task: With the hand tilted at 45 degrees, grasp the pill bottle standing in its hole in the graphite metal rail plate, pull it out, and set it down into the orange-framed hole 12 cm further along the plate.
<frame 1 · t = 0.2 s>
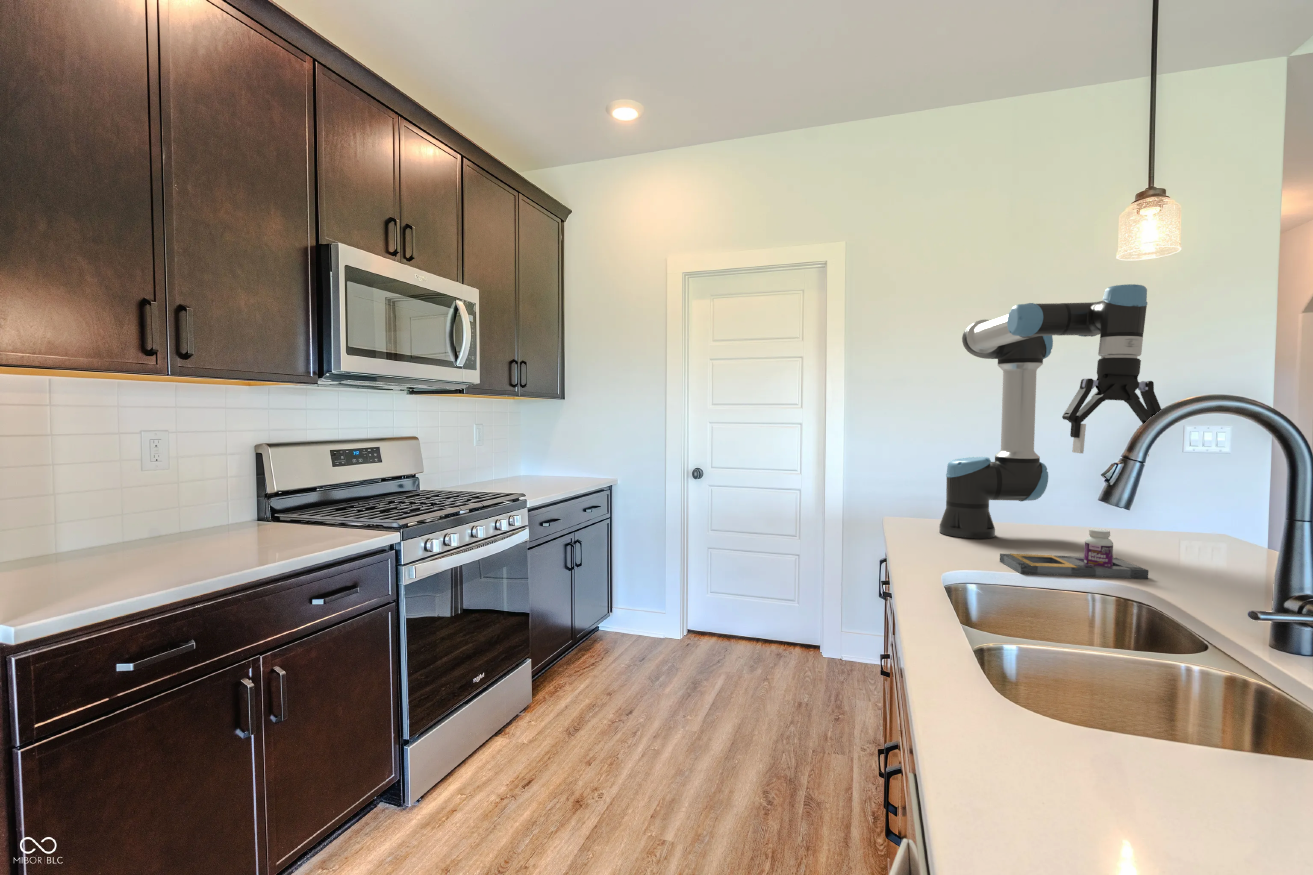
hand: (1109, 454, 134), 27 cm above the worktop, tool pointing down, fingers open, 13 cm apart
pill bottle: (1097, 571, 141), resting in rail plate
rail plate: (1069, 569, 142), on the worktop
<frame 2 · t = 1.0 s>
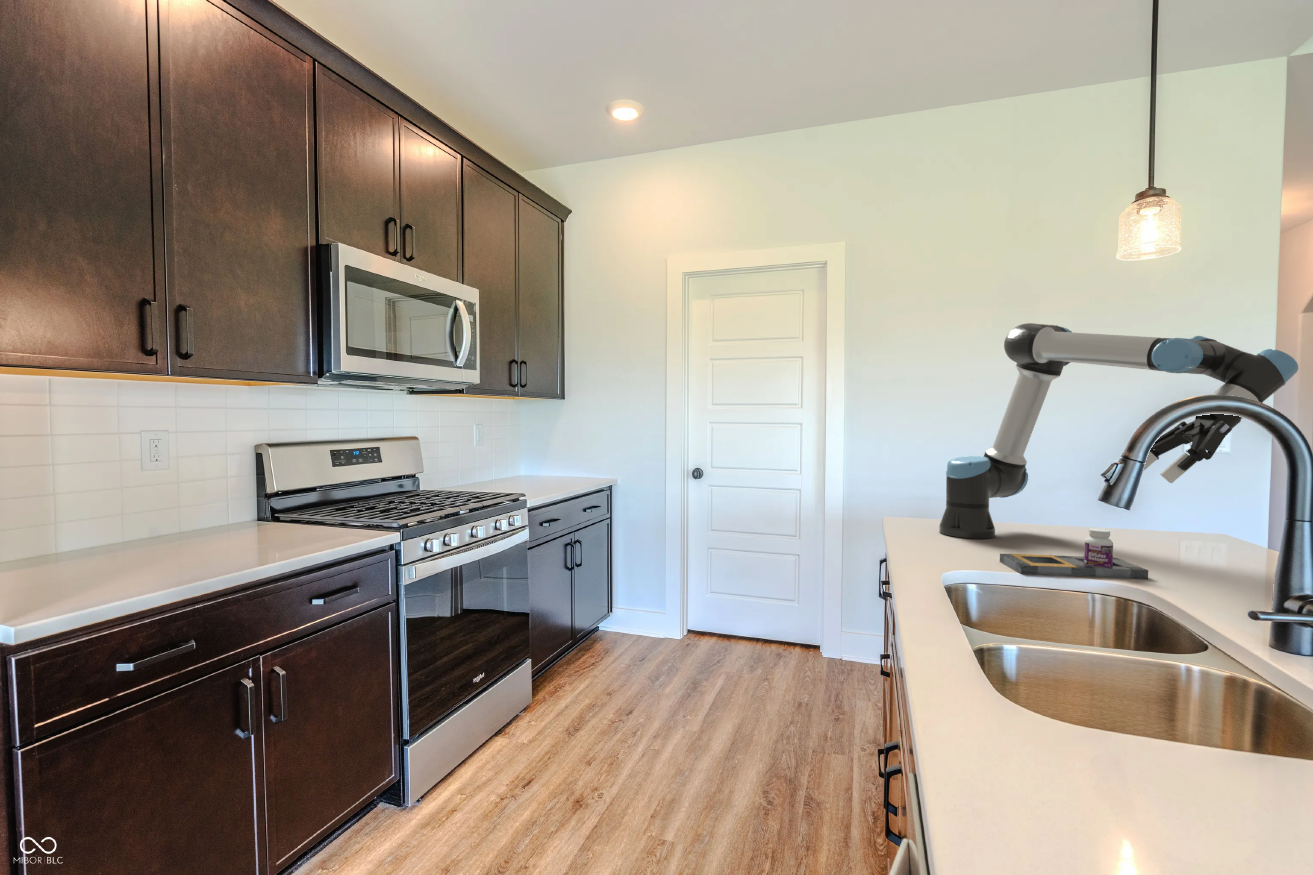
hand: (1147, 476, 138), 22 cm above the worktop, tool tilted 45°, fingers open, 13 cm apart
nothing on the worktop moved.
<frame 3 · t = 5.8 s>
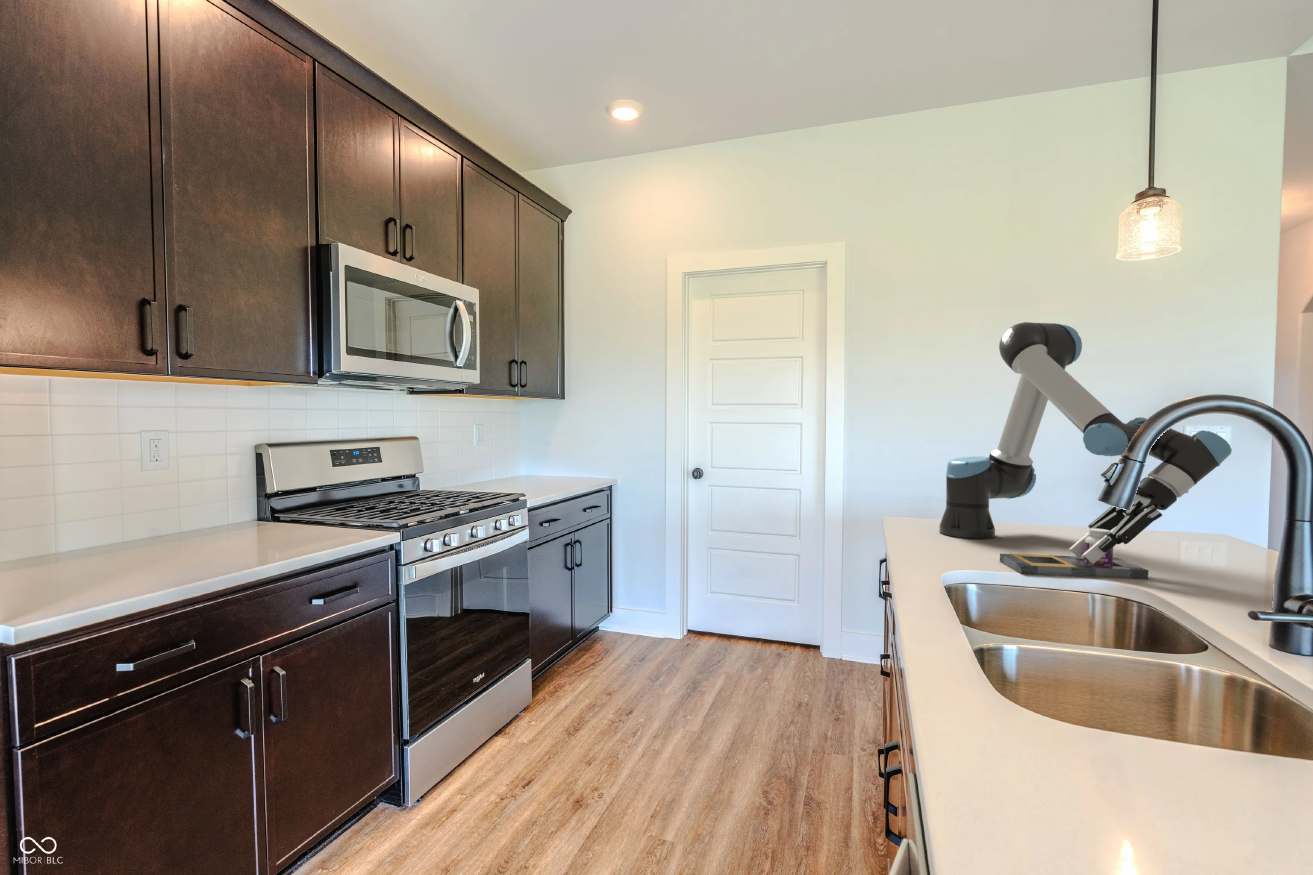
hand: (1081, 555, 142), 3 cm above the worktop, tool tilted 45°, fingers closed on pill bottle, 5 cm apart
pill bottle: (1097, 571, 141), resting in rail plate, touching gripper
when the fingers open (4 cm above the worktop, at t = 11.0 s): pill bottle stays where it is, resting in rail plate.
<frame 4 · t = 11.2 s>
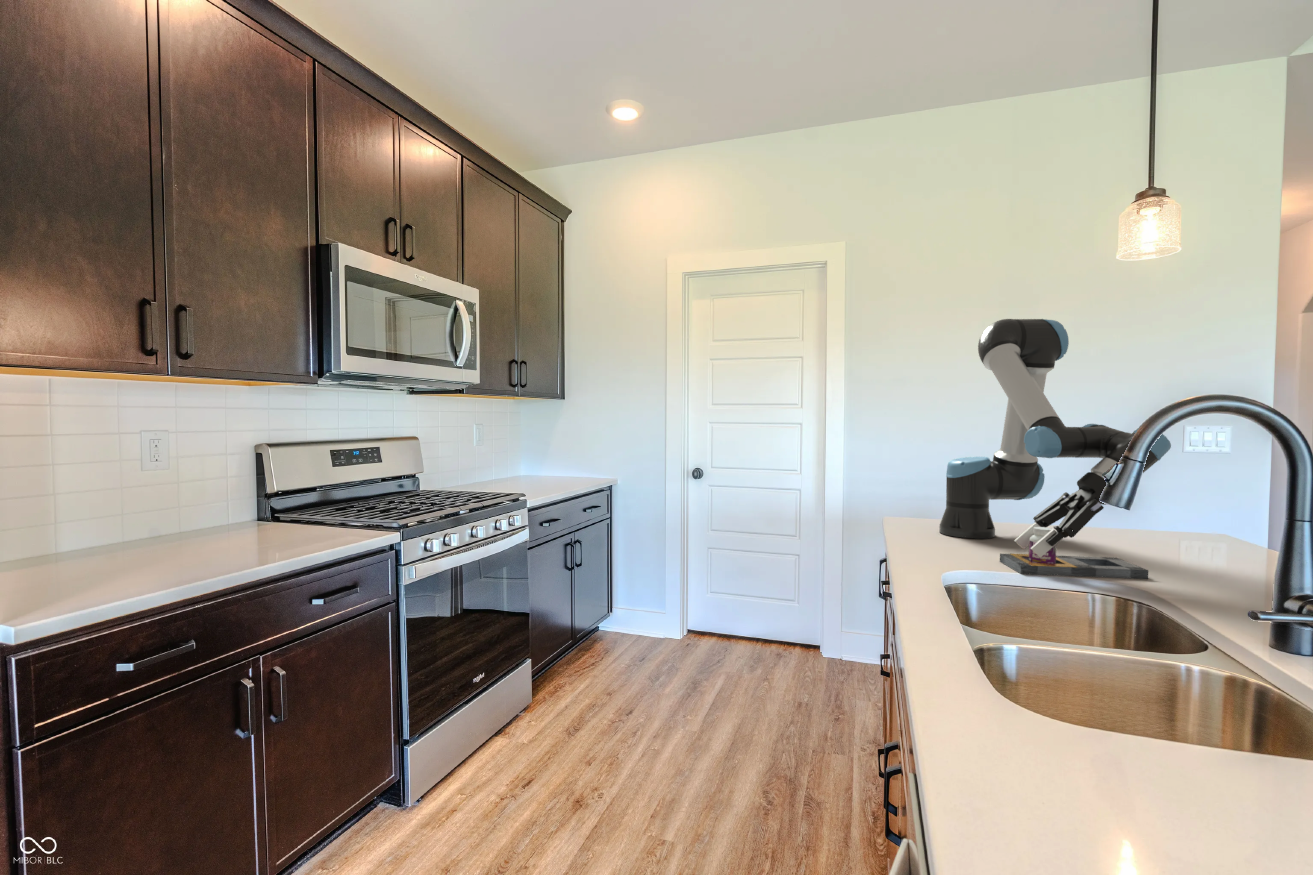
hand: (1026, 548, 143), 5 cm above the worktop, tool tilted 45°, fingers open, 8 cm apart
pill bottle: (1042, 569, 143), resting in rail plate
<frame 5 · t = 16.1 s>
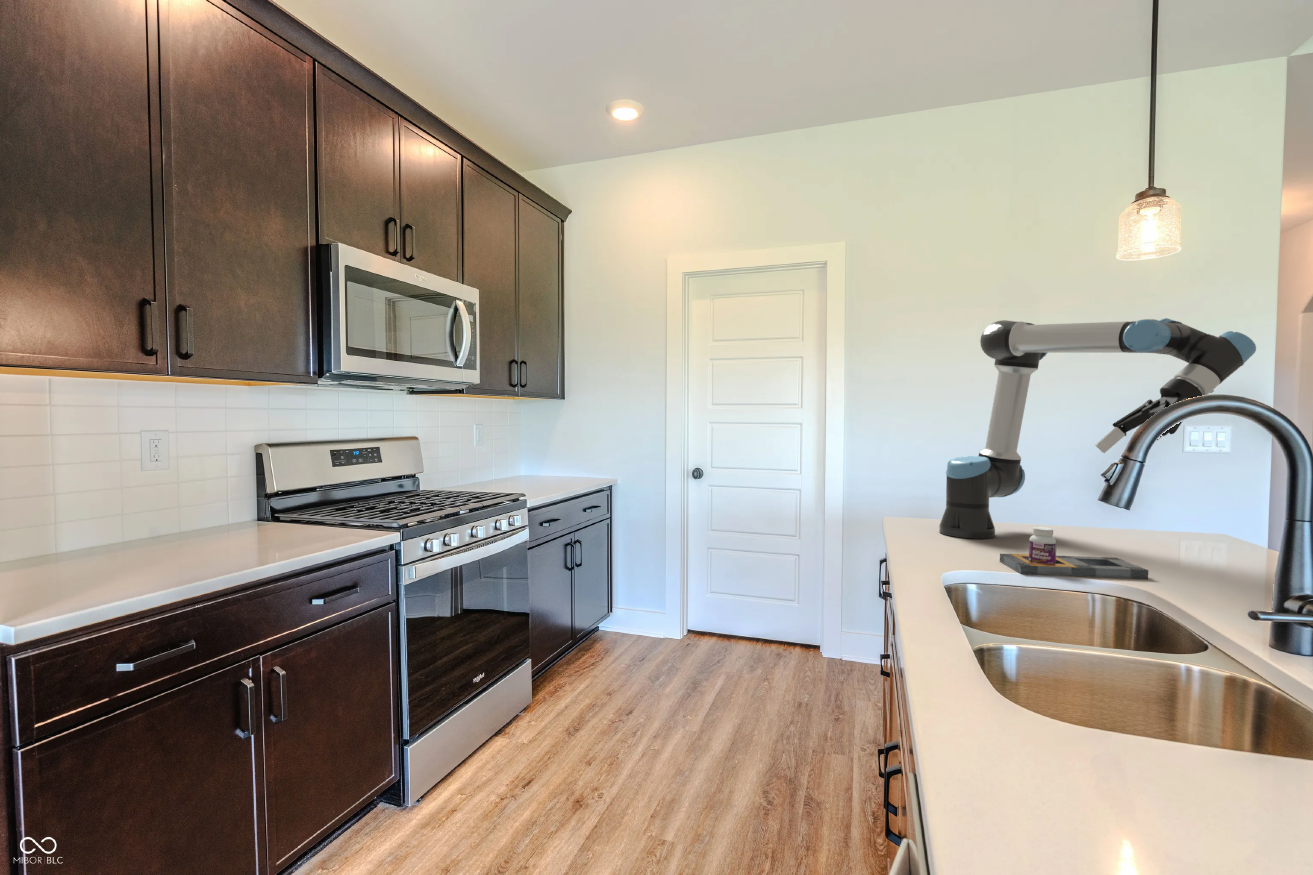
hand: (1115, 450, 146), 28 cm above the worktop, tool tilted 45°, fingers open, 13 cm apart
nothing on the worktop moved.
at the end: pill bottle 0.0 cm from the target spot on the rail plate, point 0.0 cm above the rail plate's base; pill bottle tilted 0°; the gripper is holding nothing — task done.
